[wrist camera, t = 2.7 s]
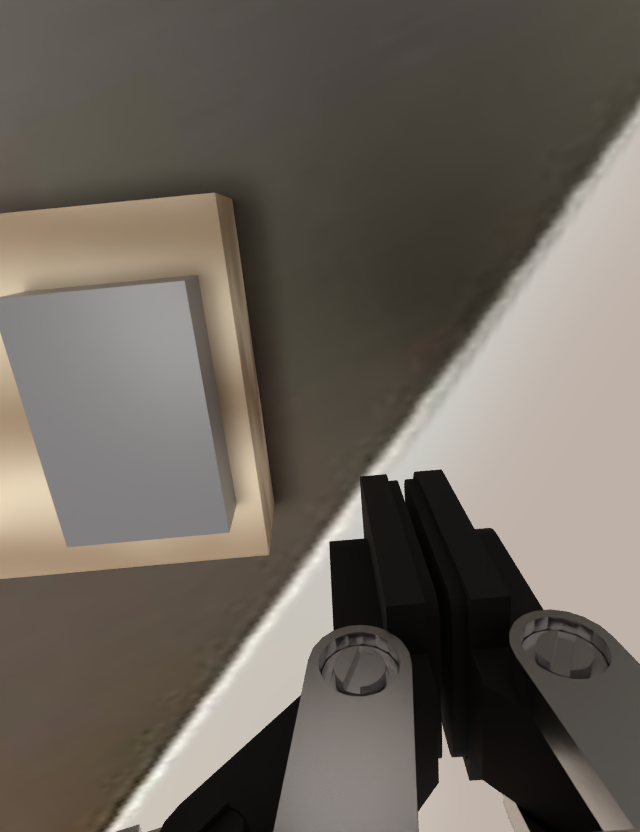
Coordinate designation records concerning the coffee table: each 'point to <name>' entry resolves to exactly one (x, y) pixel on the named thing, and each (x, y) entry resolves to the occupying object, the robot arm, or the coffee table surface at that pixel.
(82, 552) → the light wood flat block
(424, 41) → the coffee table surface
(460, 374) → the coffee table surface
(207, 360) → the grey rectangular block
